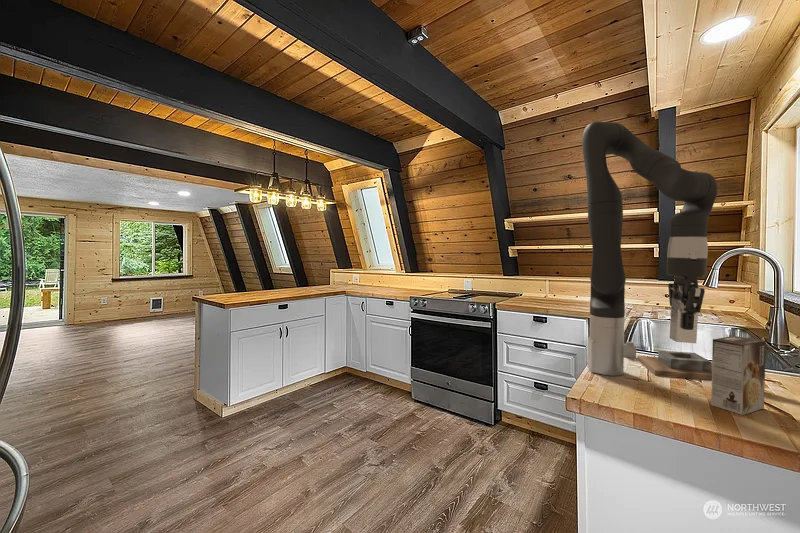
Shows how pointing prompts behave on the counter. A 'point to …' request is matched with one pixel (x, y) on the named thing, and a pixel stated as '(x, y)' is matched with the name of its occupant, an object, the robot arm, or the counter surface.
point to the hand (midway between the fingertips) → (683, 327)
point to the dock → (671, 372)
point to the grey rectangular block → (629, 350)
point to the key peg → (675, 324)
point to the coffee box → (738, 374)
